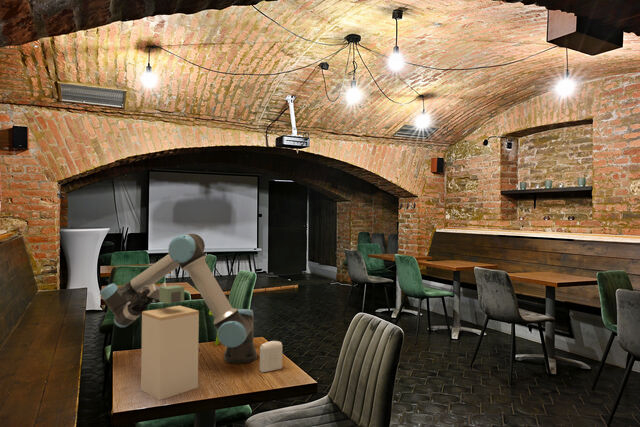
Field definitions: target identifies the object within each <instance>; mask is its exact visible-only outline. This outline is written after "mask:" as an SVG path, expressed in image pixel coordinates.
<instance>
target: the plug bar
mask: <svg viewBox="0 0 640 427" xmlns="http://www.w3.org/2000/svg"><path fill="white" fill-rule="evenodd" d="M150 286H151V285H145V286H143V291H145V290H146V289H148V288H149V287H150ZM160 286H161V285H156V284H155V288H156V291H154V292H153V293H152V294H151V295H150V296H148V297H150V298H154V299H158V300H159V301H158V302H160V303H164V304H169V305H170V304H174V303H180V302H184V301H185V286H182V285H177V284H174V285H168V286H167V285H166V286H165V287H160ZM143 291H142V292H143ZM146 296H147V295H146Z"/></svg>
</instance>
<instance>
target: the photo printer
mask: <svg viewBox="0 0 640 427" xmlns="http://www.w3.org/2000/svg"><path fill="white" fill-rule="evenodd" d="M282 368H283V344H282V342H281V341H277V340H270V341H266V342H264V343H262V344H260V346H259V372H260V373H265V372H271V371H278V370H281V369H282Z"/></svg>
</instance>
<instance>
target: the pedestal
mask: <svg viewBox="0 0 640 427" xmlns="http://www.w3.org/2000/svg"><path fill="white" fill-rule="evenodd" d="M199 315H200V311H199V310H198V309H197V310H196V309H194V308H190V307H187V306H182V305H174V306H167V307H162V308H155V309H149V310H146V311H143V312H142V314H141V357H140V358H141V359H140V360H141V362H140V363H141V364H140V365H141V368H140V369H141V371H140V372H141V374H140V375H141V376H140V377H141V378H140V390H141V391H142V392H145V393H146V394H147V395H150V396H152V397H153V398H155V399H156V400H159V401H161V400H164V399H167V398H170V397H174V396H177V395H180V394H182V393H185V392H188V391H192V390H195V389H198V388H199V327H200V324H199V320H200V318H199V317H200V316H199Z"/></svg>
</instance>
